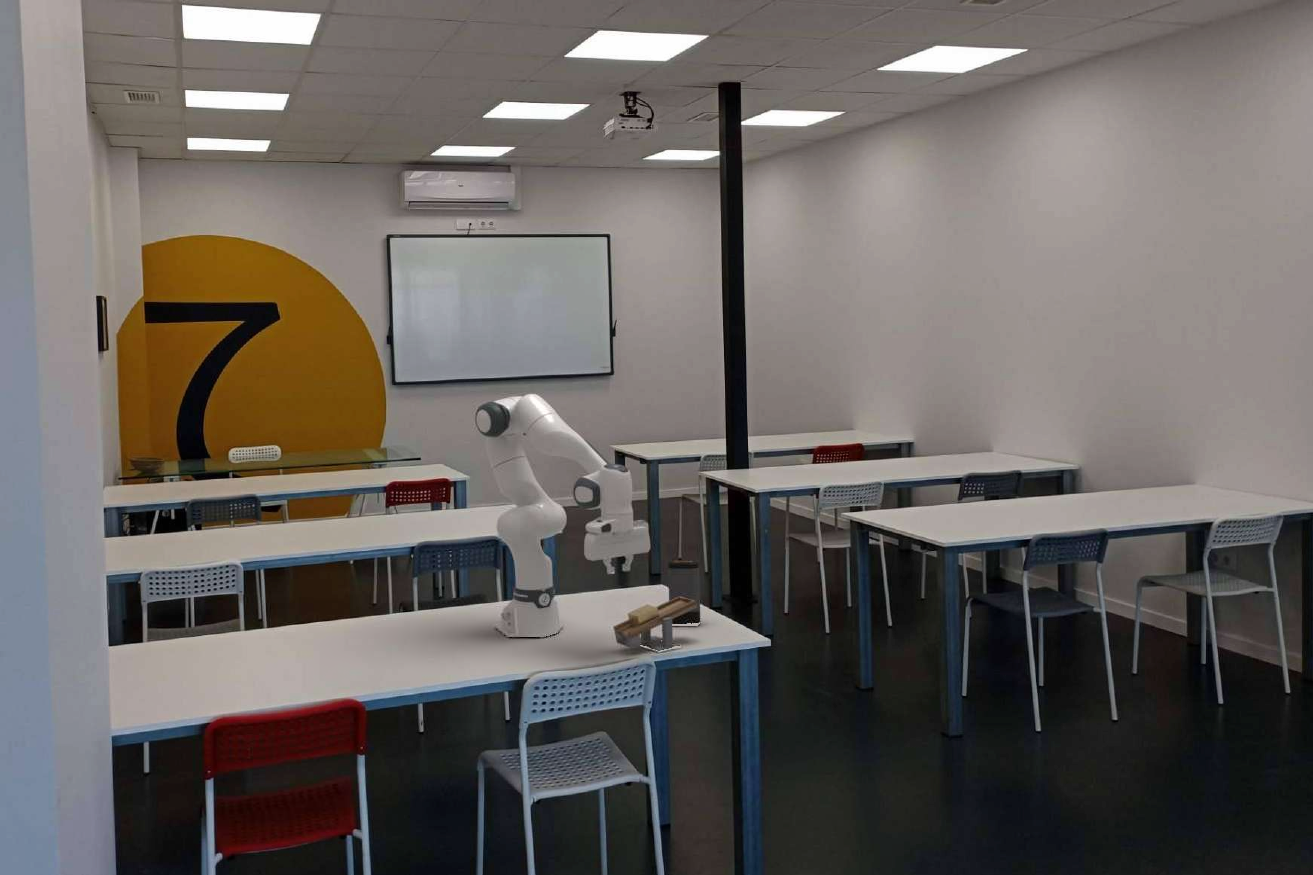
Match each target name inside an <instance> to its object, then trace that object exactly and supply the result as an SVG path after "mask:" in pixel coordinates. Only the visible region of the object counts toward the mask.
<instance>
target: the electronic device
mask: <svg viewBox="0 0 1313 875" xmlns="http://www.w3.org/2000/svg"><path fill="white" fill-rule="evenodd" d="M667 566H668V567H667V568H668V601H670V600H672V599H674V598H676V597H678V596H680V597H684V598H687V599H691V600H695V601H696V604H697V608H695V609H693V610H690V611H688V612H686V613H684V614H682V615H680V616H678V617H676V618H674V619H672V624H687V623H691V624H692V623H699V622H700V623H701V588H700V587H701V584H700V583H701V580H700V560H699V559H698V558H691V560H678V559H677V558H671V559H669V561H668V565H667Z"/></svg>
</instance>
